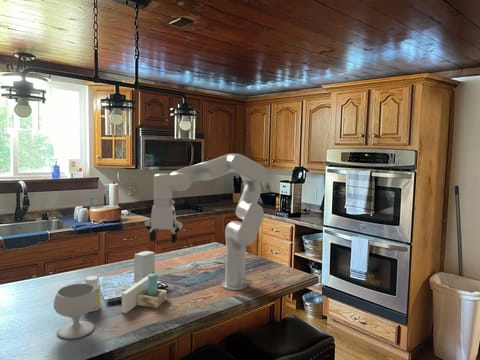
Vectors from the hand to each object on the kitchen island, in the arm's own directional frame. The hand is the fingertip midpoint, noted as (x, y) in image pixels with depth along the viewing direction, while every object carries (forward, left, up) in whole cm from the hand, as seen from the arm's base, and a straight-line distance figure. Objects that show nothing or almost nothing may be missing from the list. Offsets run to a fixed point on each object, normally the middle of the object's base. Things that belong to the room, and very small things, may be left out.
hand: (163, 241), depth 152 cm
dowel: (+2, +6, -25) cm, 26 cm away
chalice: (+16, +35, -26) cm, 46 cm away
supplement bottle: (+22, +19, -26) cm, 38 cm away
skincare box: (+16, -12, -26) cm, 33 cm away
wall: (+8, +7, -25) cm, 27 cm away
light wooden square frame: (+2, +6, -25) cm, 26 cm away
